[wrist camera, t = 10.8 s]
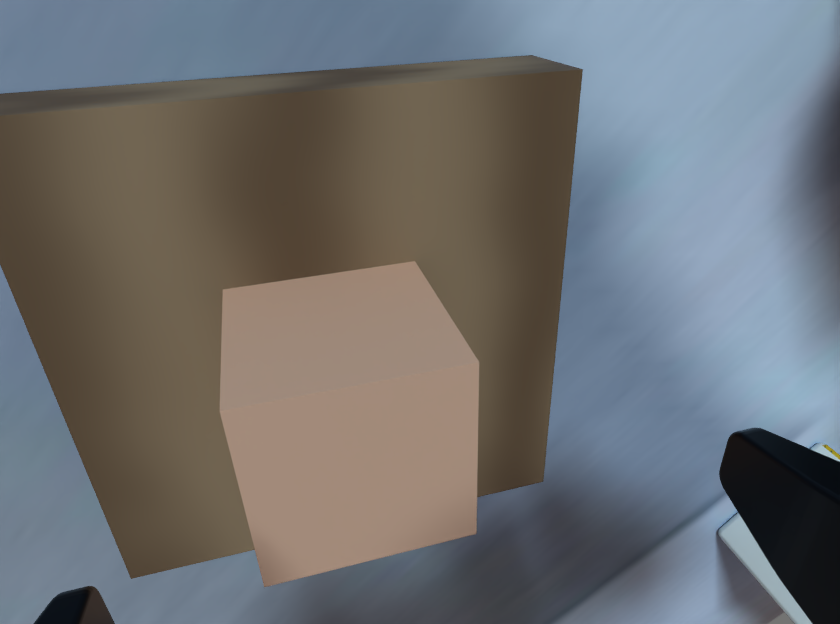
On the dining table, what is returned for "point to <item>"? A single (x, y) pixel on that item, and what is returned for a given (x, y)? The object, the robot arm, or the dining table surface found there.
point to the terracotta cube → (348, 418)
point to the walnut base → (276, 254)
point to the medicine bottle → (756, 562)
